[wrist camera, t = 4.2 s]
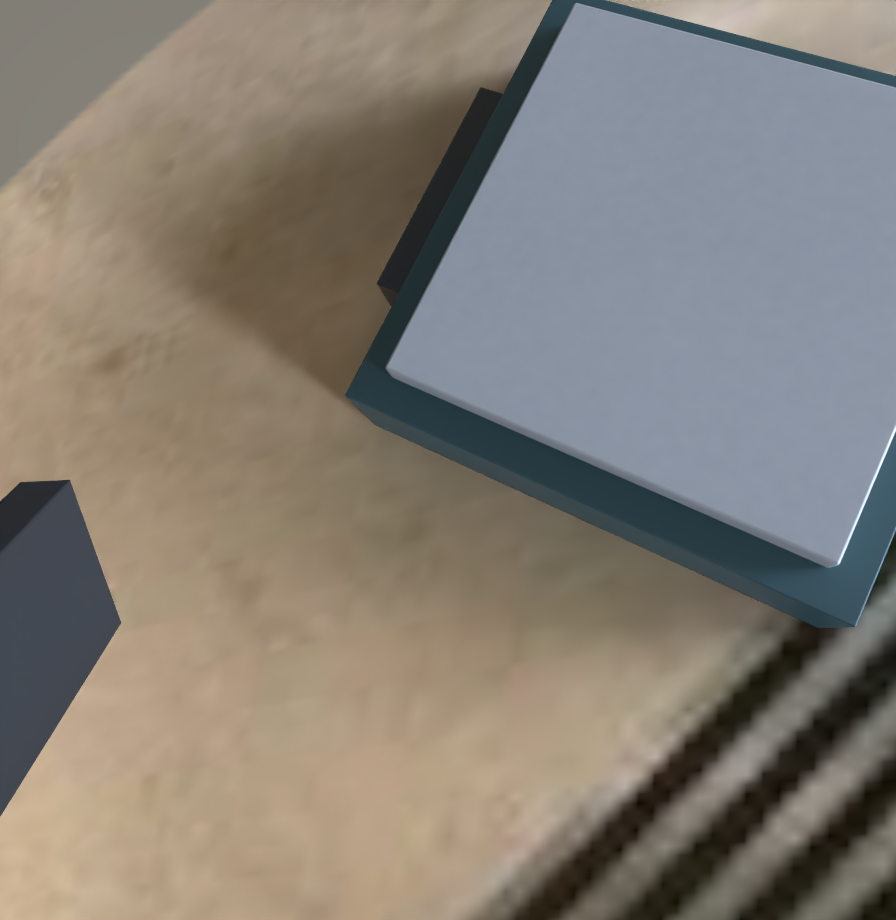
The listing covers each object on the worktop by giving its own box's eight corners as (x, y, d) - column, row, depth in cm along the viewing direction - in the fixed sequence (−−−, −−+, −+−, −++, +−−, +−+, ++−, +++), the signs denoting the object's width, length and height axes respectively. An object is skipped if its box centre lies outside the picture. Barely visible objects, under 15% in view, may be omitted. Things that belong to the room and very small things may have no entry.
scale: (347, 412, 24) (303, 372, 21) (535, 52, 26) (526, -44, 22) (818, 628, 20) (868, 627, 17) (1004, 187, 22) (1086, 98, 18)
